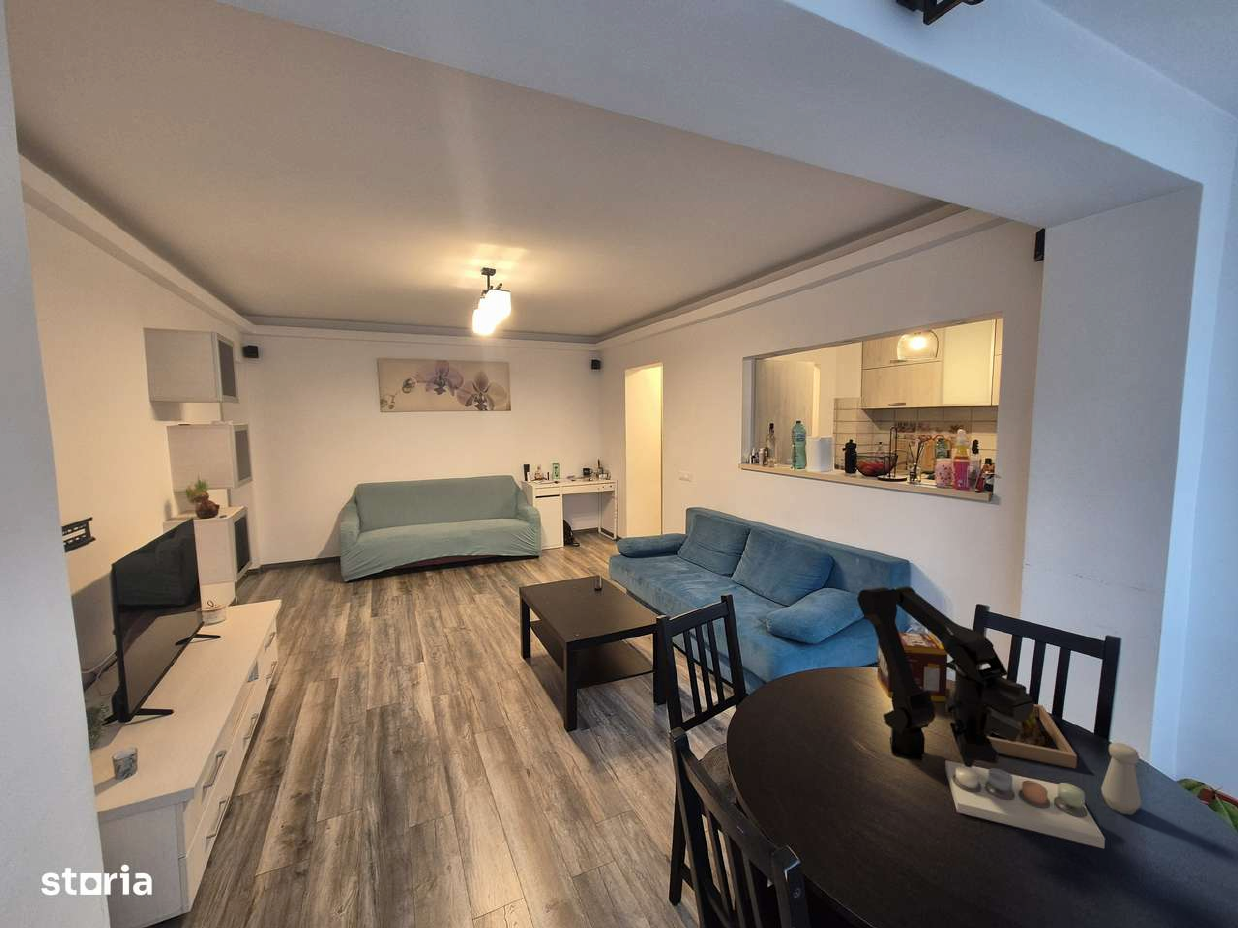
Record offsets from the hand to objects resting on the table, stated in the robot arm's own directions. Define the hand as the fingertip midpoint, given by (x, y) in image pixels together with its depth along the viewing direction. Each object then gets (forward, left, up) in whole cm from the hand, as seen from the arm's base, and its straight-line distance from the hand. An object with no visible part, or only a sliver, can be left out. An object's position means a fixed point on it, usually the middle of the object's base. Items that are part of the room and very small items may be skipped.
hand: (968, 765), depth 108 cm
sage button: (+17, 0, -2) cm, 17 cm away
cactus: (+15, +31, -7) cm, 35 cm away
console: (+9, 0, -6) cm, 11 cm away
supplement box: (-6, +42, -6) cm, 43 cm away
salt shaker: (+28, +7, -6) cm, 29 cm away
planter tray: (+14, +29, -6) cm, 33 cm away
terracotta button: (+11, 0, -4) cm, 12 cm away
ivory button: (0, 0, -4) cm, 4 cm away
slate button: (+6, 0, -2) cm, 6 cm away
